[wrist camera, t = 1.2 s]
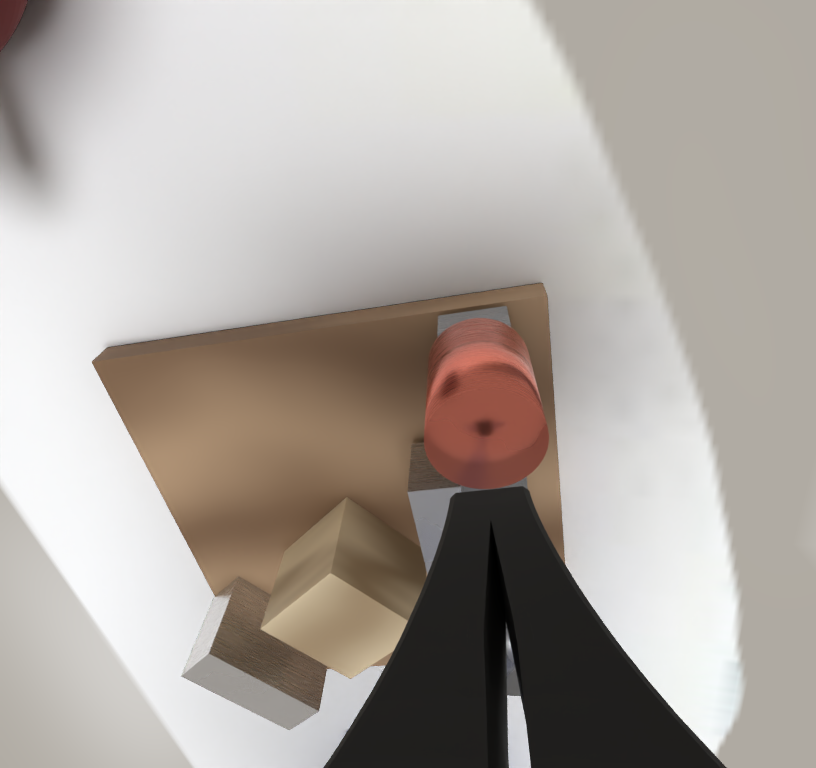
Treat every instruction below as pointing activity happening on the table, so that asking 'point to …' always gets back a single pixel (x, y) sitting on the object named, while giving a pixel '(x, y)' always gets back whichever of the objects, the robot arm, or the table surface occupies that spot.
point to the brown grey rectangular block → (253, 660)
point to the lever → (475, 424)
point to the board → (302, 424)
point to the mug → (10, 18)
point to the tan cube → (346, 590)
